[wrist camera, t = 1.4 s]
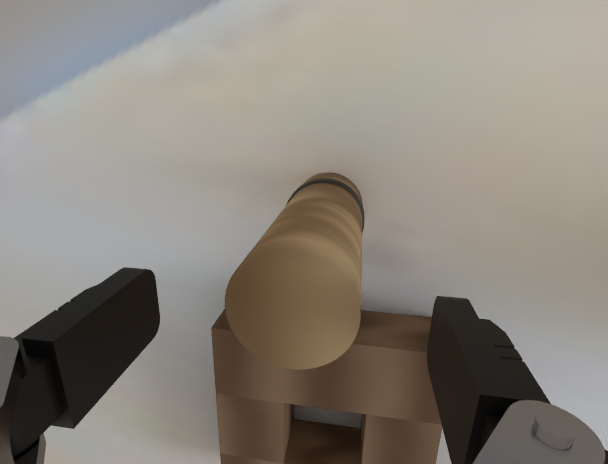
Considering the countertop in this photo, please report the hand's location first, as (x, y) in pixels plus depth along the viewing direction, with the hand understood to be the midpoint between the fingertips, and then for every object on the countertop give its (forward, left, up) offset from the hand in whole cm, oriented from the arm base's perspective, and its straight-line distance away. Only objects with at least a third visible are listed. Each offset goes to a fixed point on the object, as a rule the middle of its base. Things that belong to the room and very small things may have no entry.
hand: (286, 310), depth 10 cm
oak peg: (0, 0, -14) cm, 14 cm away
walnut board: (-1, +16, -14) cm, 21 cm away
